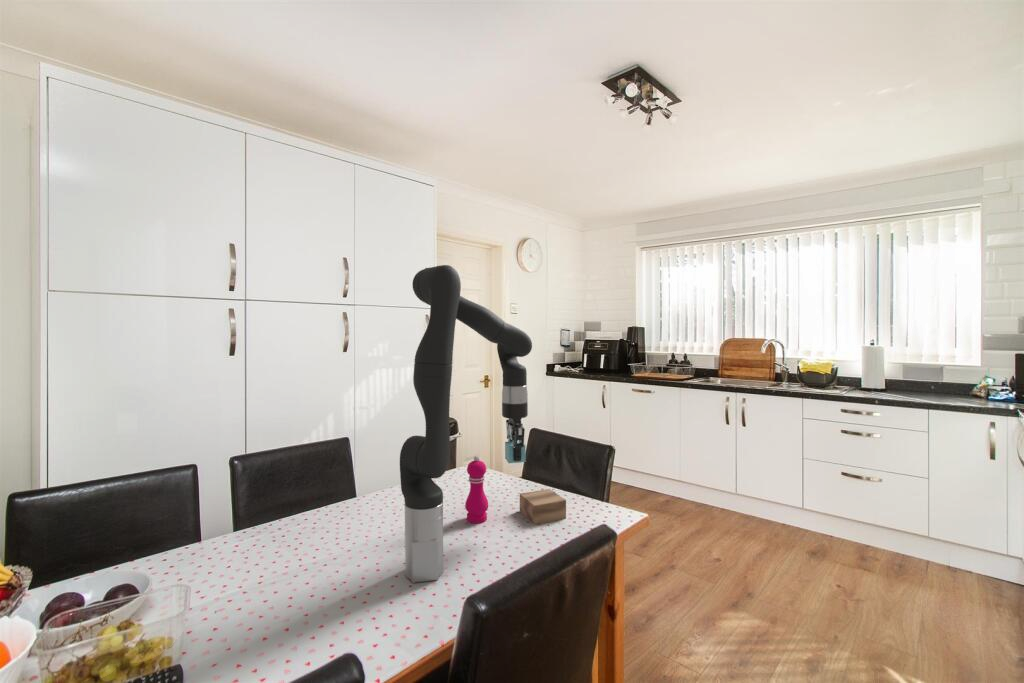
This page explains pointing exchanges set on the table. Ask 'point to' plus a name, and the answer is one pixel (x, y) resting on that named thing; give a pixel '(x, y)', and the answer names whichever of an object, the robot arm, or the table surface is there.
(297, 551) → the table surface
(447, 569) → the table surface
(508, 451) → the teal cube
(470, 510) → the pepper mill
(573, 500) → the table surface
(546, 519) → the walnut box
